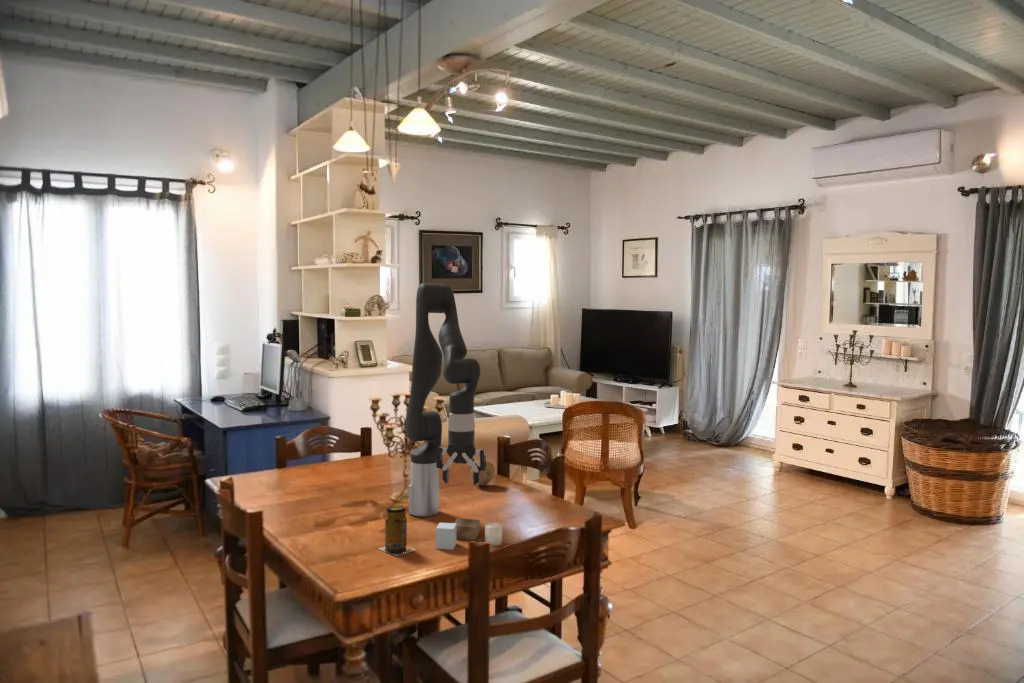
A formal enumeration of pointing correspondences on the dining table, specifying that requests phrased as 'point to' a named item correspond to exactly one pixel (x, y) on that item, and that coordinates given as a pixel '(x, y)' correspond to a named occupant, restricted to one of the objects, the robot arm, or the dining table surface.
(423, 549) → the dining table surface
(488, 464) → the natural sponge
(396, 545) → the condiment
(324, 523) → the dining table surface
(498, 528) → the cream cylinder
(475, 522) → the walnut block
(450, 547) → the pale grey block
